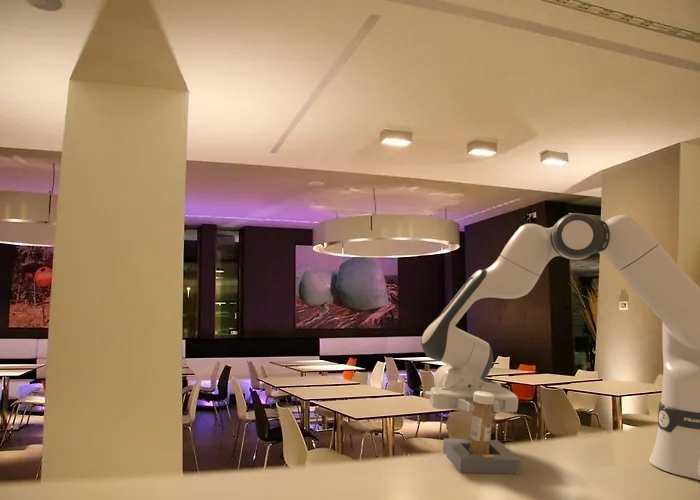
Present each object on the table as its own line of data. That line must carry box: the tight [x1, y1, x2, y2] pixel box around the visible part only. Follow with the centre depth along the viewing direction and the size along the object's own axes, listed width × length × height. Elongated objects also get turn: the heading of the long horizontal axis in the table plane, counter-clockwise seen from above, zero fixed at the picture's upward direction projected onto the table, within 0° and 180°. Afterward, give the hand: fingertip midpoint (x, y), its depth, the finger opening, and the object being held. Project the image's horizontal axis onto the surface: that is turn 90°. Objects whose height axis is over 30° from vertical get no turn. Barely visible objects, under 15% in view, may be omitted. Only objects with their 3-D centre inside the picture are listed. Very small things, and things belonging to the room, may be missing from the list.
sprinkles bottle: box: [469, 391, 495, 454], centre depth 133 cm, size 5×5×14 cm
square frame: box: [442, 438, 521, 475], centre depth 133 cm, size 13×13×3 cm
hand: (484, 409), depth 133 cm, fingers closed on sprinkles bottle, 4 cm apart
